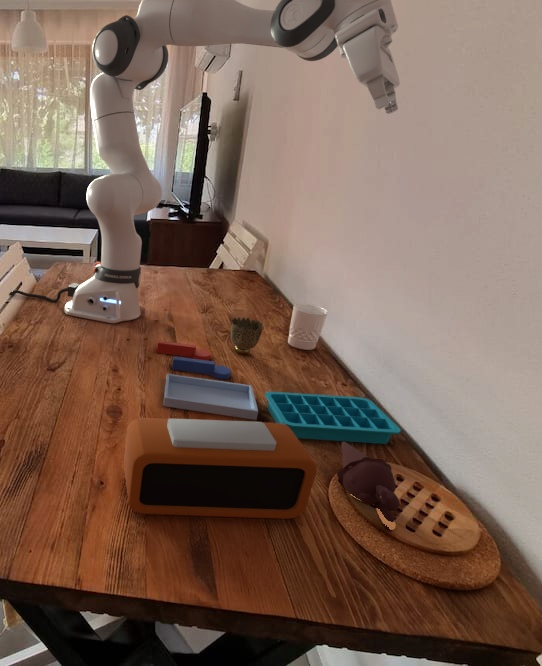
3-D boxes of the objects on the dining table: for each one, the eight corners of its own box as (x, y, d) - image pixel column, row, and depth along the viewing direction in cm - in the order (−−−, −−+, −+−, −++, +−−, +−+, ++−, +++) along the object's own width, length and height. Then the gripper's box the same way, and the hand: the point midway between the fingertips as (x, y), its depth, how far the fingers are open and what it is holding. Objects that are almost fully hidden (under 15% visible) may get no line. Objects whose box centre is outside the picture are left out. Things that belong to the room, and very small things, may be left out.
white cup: (316, 341, 121) (325, 306, 117) (319, 353, 114) (329, 316, 110) (284, 336, 123) (292, 301, 120) (286, 347, 116) (294, 311, 113)
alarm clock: (127, 514, 61) (134, 445, 57) (122, 473, 69) (128, 409, 65) (303, 520, 62) (324, 452, 57) (278, 478, 70) (295, 415, 65)
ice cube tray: (399, 447, 79) (404, 432, 77) (280, 439, 79) (284, 425, 78) (364, 411, 89) (368, 397, 88) (260, 404, 90) (263, 391, 89)
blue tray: (163, 406, 88) (164, 397, 87) (165, 381, 97) (166, 373, 96) (256, 420, 84) (258, 411, 84) (250, 393, 94) (251, 385, 93)
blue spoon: (171, 372, 101) (173, 361, 100) (172, 363, 105) (173, 353, 104) (231, 380, 99) (233, 369, 98) (229, 371, 103) (231, 361, 102)
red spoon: (156, 355, 109) (157, 345, 108) (157, 347, 113) (158, 338, 112) (210, 362, 107) (212, 352, 106) (209, 354, 111) (211, 344, 110)
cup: (259, 360, 109) (266, 329, 105) (227, 356, 110) (233, 326, 107) (255, 348, 115) (261, 318, 112) (225, 344, 117) (230, 315, 113)
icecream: (318, 428, 71) (364, 503, 58) (369, 422, 70) (427, 497, 57) (318, 461, 75) (361, 540, 61) (366, 455, 73) (421, 535, 60)
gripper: (359, 54, 90) (378, 123, 91) (332, 33, 75) (355, 114, 76) (396, 34, 85) (416, 105, 86) (375, 6, 71) (400, 93, 72)
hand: (388, 109), depth 81 cm, fingers open, 8 cm apart
